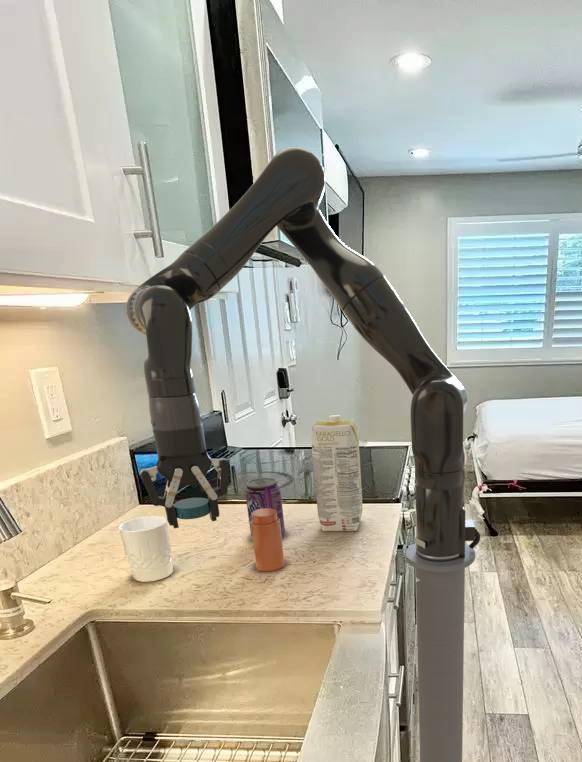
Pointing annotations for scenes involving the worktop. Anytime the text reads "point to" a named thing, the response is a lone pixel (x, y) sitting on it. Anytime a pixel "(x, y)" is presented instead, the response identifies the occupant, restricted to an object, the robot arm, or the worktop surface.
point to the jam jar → (267, 539)
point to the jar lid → (192, 508)
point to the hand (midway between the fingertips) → (194, 522)
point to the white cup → (147, 547)
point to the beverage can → (264, 498)
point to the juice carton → (337, 474)
